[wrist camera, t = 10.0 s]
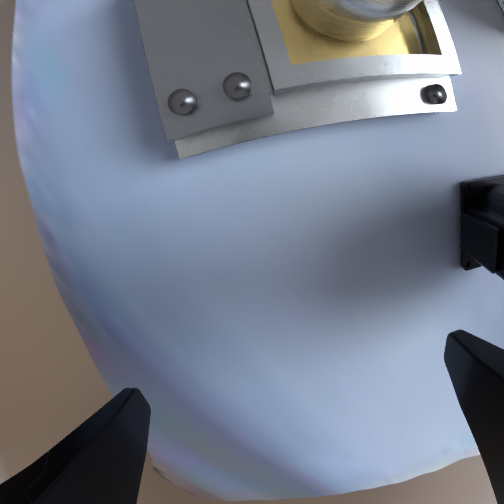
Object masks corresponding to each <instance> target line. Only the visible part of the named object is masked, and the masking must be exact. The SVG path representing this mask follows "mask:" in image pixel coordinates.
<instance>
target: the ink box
mask: <svg viewBox="0 0 504 504" xmlns="http://www.w3.org/2000/svg"><path fill="white" fill-rule="evenodd" d="M498 2H499V4H500V6H501V8H502V10H503V12H504V0H498Z"/></svg>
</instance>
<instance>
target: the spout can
mask: <svg viewBox="0 0 504 504" xmlns="http://www.w3.org/2000/svg"><path fill="white" fill-rule="evenodd" d="M421 1H423V0H292V3H293V5H294V8H295V10H296V11H297V13H298V15H299V16H300V17H301V18H302V19H303V20H304V21H305V22H306V23H307V24H308V25H309V26H310V27H311V28H313V29H314V30H316V31H317V32H319V33H321V34H323V35H325V36H328V37H330V38H333V39H336V40H340V41H346V42H361V41H366V40H370V39H372V38H375V37H376V36H378V35H380V34H381V33H382V32H383V31H384V30H386V29H387V28H388V27H389V26H391V25H392V24H393V23H394V22H395V21H397V20H398V19H399V18H400V17H402V16H403V15H404V14H406V13H407V12H408V11H409V10H411V9H412V8H413V7H415V6H416V5H417V4H419V3H420V2H421Z"/></svg>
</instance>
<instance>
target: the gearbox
mask: <svg viewBox="0 0 504 504" xmlns="http://www.w3.org/2000/svg"><path fill="white" fill-rule="evenodd" d="M134 2H135V8H136V13H137V18H138V23H139V27H140V32H141V37H142V41H143V46H144V51H145V55H146V59H147V64H148V68H149V72H150V77H151V81H152V85H153V89H154V93H155V97H156V101H157V105H158V109H159V113H160V117H161V121H162V125H163V128H164V132H165V136H166V140H167V141H175V145H176V149H177V152H178V156H179V159H182V158H186V157H189V156H193V155H196V154H199V153H203V152H206V151H210V150H214V149H217V148H221V147H225V146H229V145H233V144H237V143H241V142H245V141H249V140H253V139H257V138H262V137H266V136H270V135H275V134H280V133H284V132H289V131H294V130H299V129H305V128H310V127H315V126H321V125H327V124H333V123H339V122H346V121H352V120H359V119H367V118H375V117H383V116H392V115H402V114H413V113H426V112H442V111H457V110H456V105H455V100H454V95H453V90H452V86H451V82H450V78H449V77H450V76H454V75H458V74H462V73H461V69H460V66H459V62H458V58H457V55H456V51H455V48H454V45H453V42H452V39H451V36H450V33H449V30H448V27H447V24H446V21H445V18H444V16H443V13H442V11H441V8H440V6H439V3H438V1H437V0H423V1H421V2H420V3H419V4H417V5H416V6H415V7H413V8H412V9H411V10H409V11H408V12H407V13H406V14H404V15H403V16H402V17H400V18H399V19H398V20H397V21H395V22H394V23H393V24H392V25H391V26H389V27H388V28H387V29H386V30H384V31H383V32H382V33H381V34H380V35H378V36H376V37H375V38H372V39H370V40H366V41H361V42H346V41H340V40H336V39H333V38H330V37H328V36H325V35H323V34H321V33H319V32H317V31H316V30H314V29H313V28H311V27H310V26H309V25H308V24H307V23H306V22H305V21H304V20H303V19H302V18H301V17H300V16H299V15H298V13H297V11H296V10H295V8H294V5H293V3H292V0H134Z"/></svg>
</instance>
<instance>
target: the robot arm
mask: <svg viewBox="0 0 504 504" xmlns="http://www.w3.org/2000/svg"><path fill="white" fill-rule="evenodd" d="M467 186H468V191H467V192H466V188H467ZM460 196H461V244H460V248H461V261H460V265H461V267H462V268H463V269H464V270H466V271H467V270H471V269H474V268H477V267H480V266H483V267H485V268H486V269H487V270H488V271H490V272H491V273H493V274H494V273H496V274H497V275H498V276H499V277H501V278H502V279H503V280H504V175H502V176H495V177H489V178H482V179H476V180H470V181H465V182H463V183H462V184H461V186H460ZM467 262H468V263H467ZM466 263H467V265H466ZM444 361H445V364H446V367H447V370H448V372H449V375H450V378H451V381H452V384H453V387H454V390H455V393H456V396H457V399H458V401H459V404H460V407H461V409H462V411H463V414H464V416H465V418H466V420H467V423H468V425H469V427H470V429H471V432H472V434H473V437H474V439H475V441H476V444H477V446H478V449H479V452H480V454H481V457H482V459H483V462H484V465H485V467H486V470H487V473H488V476H489V479H490V482H491V485H492V488H493V491H494V494H495V497H496V500H497V504H504V349H501V348H499V347H497V346H495V345H493V344H491V343H489V342H487V341H485V340H483V339H481V338H478V337H476V336H474V335H472V334H470V333H468V332H466V331H464V330H456V331H454V332H451V333H449V334H448V336H447V340H446V346H445V352H444ZM150 415H151V409H150V405H149V404H148V402H147V401H146V399H145V398H144V396H143V394H142V393H141V391H140V390H139V389H138V388H125V389H123V390H122V391H121V392H120V393H119V394H117V395H116V396H115V397H114V398H113V399H111V400H110V401H109V402H108V403H107V404H105V405H104V406H103V407H102V408H100V409H99V410H98V411H97V412H96V413H94V414H93V415H92V416H91V417H90V418H88V419H87V420H86V421H85V422H83V423H82V424H81V425H80V426H79V427H77V428H76V429H75V430H74V431H72V432H71V433H70V434H69V435H67V436H66V437H65V438H64V439H63V440H61V441H60V442H59V443H58V444H56V445H55V446H54V447H53V448H51V449H50V450H49V452H47V453H45V454H44V455H43V456H41V457H40V458H39V459H37V460H36V461H35V462H33V463H32V464H31V465H29V466H28V467H27V468H25V469H24V470H22V471H20V472H19V473H17V474H16V475H14V476H13V477H11V478H10V479H8V480H7V481H5V482H3V483H2V484H0V504H136V503H137V498H138V492H139V487H140V481H141V477H142V472H143V467H144V462H145V457H146V451H147V443H148V433H149V424H150Z"/></svg>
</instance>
